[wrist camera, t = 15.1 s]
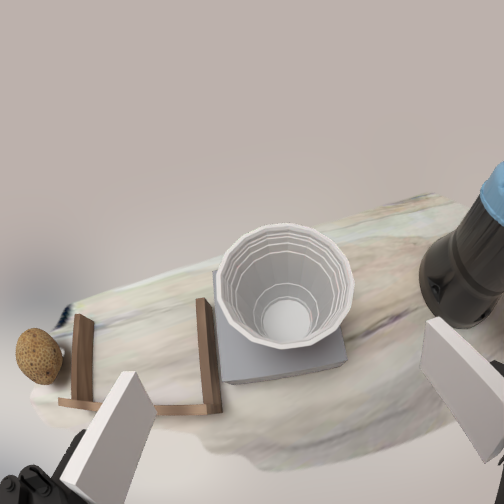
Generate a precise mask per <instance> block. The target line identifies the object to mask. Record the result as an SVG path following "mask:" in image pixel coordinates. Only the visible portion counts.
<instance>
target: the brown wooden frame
mask: <svg viewBox="0 0 504 504" xmlns="http://www.w3.org/2000/svg"><path fill="white" fill-rule="evenodd" d="M196 315H197V332H198V346H199V359H200V371H201V382H202V393H203V402H204V404H199V405H154V407H155V409H156V411H157V414H156V415H207V414H216V413H223V412H222V403H221V395H220V386H219V376H218V367H217V357H216V346H215V335H214V323H213V310H212V307H211V305H210V304H209V303H208V302H207V300H206V299H205V298H198V299H196ZM93 332H94V321H92V320H90V319H88V318H87V317H85V316H83V315H81V314H75V318H74V328H73V342H72V364H71V399H65V398H58V405H59V406H64V407H70V408H77V409H84V410H91V411H98V410H99V408H100V407H101V405H102V403H98V402H93V391H92V355H93Z"/></svg>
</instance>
